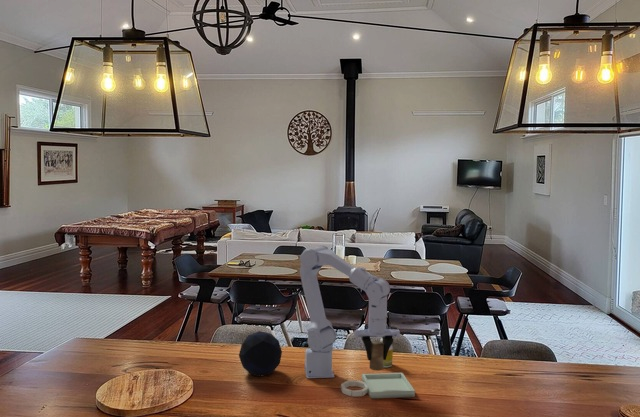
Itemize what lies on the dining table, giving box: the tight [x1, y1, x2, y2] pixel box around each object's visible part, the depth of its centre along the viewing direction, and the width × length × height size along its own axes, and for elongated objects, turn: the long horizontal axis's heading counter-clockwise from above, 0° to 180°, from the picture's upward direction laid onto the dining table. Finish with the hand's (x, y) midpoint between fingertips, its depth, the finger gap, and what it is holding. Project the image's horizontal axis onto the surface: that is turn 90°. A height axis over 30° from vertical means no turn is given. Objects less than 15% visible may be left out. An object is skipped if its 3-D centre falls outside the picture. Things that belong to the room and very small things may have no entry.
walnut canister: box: [369, 340, 384, 371], centre depth 160 cm, size 4×4×8 cm
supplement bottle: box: [379, 337, 394, 368], centre depth 180 cm, size 5×5×10 cm
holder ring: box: [340, 379, 368, 397], centre depth 159 cm, size 8×8×2 cm
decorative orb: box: [238, 330, 283, 377], centre depth 171 cm, size 14×15×15 cm
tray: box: [361, 372, 416, 399], centre depth 161 cm, size 14×14×2 cm
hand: (376, 358), depth 160 cm, fingers closed on walnut canister, 4 cm apart
